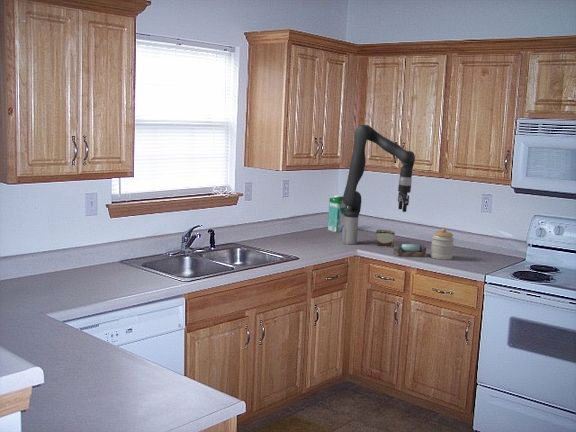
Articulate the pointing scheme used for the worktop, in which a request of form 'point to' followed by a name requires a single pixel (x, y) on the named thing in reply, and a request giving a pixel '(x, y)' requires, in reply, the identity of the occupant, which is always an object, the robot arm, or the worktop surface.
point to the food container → (385, 237)
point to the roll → (410, 248)
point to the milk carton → (336, 214)
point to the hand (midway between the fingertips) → (402, 210)
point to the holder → (409, 254)
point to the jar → (442, 245)
